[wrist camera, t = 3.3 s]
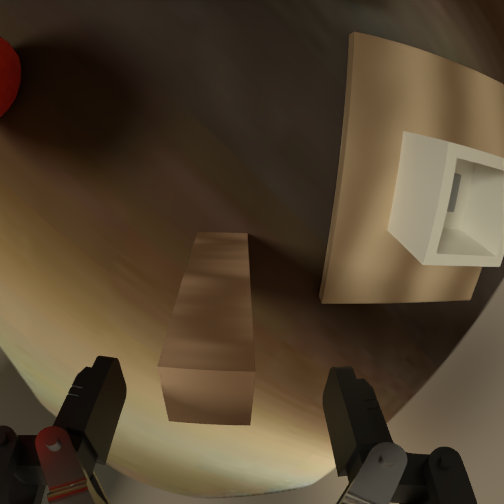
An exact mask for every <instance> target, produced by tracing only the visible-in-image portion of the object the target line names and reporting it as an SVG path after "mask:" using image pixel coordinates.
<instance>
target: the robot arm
mask: <svg viewBox="0 0 504 504" xmlns="http://www.w3.org/2000/svg"><path fill="white" fill-rule="evenodd" d="M125 399H126V383H125V380H124V377H123V373H122V370H121V366H120V363H119V360H118V359H117V358H113V357H106V356H98V357H97V358H96V360H95V362H94V364H93V366H92V368H91V367H85V368H84V369H83V370H82V371H81V372H80V373H79V374H78V375H77V376H76V378H75V380H74V382H73V384H72V387H71V388H70V390H69V392H68V395H67V397H66V399H65V401H64V403H63V405H62V407H61V409H60V411H59V414H58V416H57V418H56V420H55V422H54V424H53V426H50V427H47V428H44V429H43V430H41V431H40V432H39V433H38V435H17V434H16V433H15V432H14V431H13V429H11V428H10V427H8V426H0V504H41V502H42V498H43V494H44V490H45V487H46V485H48V487H49V491H50V493H48V494H47V499H48V502H49V504H110V502H109V500H108V499H107V497H106V495H105V493H104V491H103V489H102V487H101V485H100V483H99V481H98V479H97V477H96V475H95V473H94V471H93V470H94V466H95V463H99V464H103V465H105V464H106V460H107V457H108V453H109V450H110V446H111V443H112V440H113V436H114V433H115V430H116V427H117V424H118V420H119V417H120V414H121V411H122V408H123V405H124V402H125ZM323 409H324V414H325V418H326V422H327V427H328V431H329V436H330V441H331V445H332V450H333V454H334V459H335V464H336V469H337V473H338V477H339V476H348V480H349V483H348V485H347V486H346V488H345V490H344V491H343V493H342V494H341V496H340V498H339V499H338V501H337V502H336V504H389V503H390V502H392V503H399V504H477V501H476V498H475V495H474V492H473V489H472V486H471V483H470V481H469V478H468V475H467V472H466V470H465V467H464V464H463V461H462V459H461V457H460V455H459V453H458V452H457V451H455V450H454V449H452V448H450V447H439V448H437V449H435V450H434V451H433V452H432V453H431V454H430V455H427V454H412V453H407V452H405V451H404V450H403V448H401V447H400V446H398V445H397V444H395V443H394V442H393V440H392V438H391V436H390V433H389V430H388V427H387V424H386V422H385V419H384V416H383V414H382V411H381V409H380V406H379V403H378V400H377V398H376V395H375V393H374V390H373V388H372V386H371V385H370V384H369V383H368V382H367V381H366V380H365V379H356V376H355V373H354V371H353V368H352V367H351V366H346V367H332V368H331V369H330V372H329V375H328V379H327V382H326V386H325V389H324V393H323Z"/></svg>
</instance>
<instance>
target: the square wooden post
mask: <svg viewBox="0 0 504 504" xmlns="http://www.w3.org/2000/svg"><path fill="white" fill-rule="evenodd" d="M158 371H159V376H160V381H161V386H162V391H163V396H164V401H165V405H166V410H167V414H168V419H169V421H174V422H186V423H199V424H218V425H250V422H251V412H252V402H253V392H254V382H255V356H254V339H253V322H252V305H251V287H250V270H249V252H248V235H247V233H225V232H197V235H196V238H195V241H194V245H193V248H192V251H191V254H190V257H189V260H188V263H187V267H186V270H185V273H184V276H183V280H182V283H181V286H180V289H179V293H178V296H177V300H176V303H175V306H174V310H173V313H172V317H171V320H170V324H169V327H168V331H167V334H166V338H165V341H164V345H163V349H162V352H161V356H160V360H159V364H158Z"/></svg>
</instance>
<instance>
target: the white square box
mask: <svg viewBox="0 0 504 504" xmlns="http://www.w3.org/2000/svg"><path fill="white" fill-rule="evenodd" d="M387 231H388V232H389V233H391V234H392V235H393V236H394V237H395V238H396V239H397V240H398V241H399V242H400V243H401V244H402V245H403V246H404V247H405V248H406V249H407V250H408V251H409V252H410V253H411V254H412V255H413V256H414V257H415V258H416V259H417V260H418V261H419V262H420V263H421V264H422V265H442V266H483V267H500V265H501V262H502V259H503V256H504V158H502V157H499V156H496V155H493V154H490V153H486V152H483V151H480V150H477V149H473V148H470V147H466V146H463V145H459V144H456V143H452V142H448V141H444V140H440V139H436V138H432V137H428V136H424V135H419V134H415V133H410V132H405V131H403V138H402V146H401V154H400V161H399V168H398V174H397V180H396V187H395V192H394V198H393V204H392V209H391V214H390V219H389V224H388V229H387Z"/></svg>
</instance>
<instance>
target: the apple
mask: <svg viewBox="0 0 504 504" xmlns="http://www.w3.org/2000/svg"><path fill="white" fill-rule="evenodd" d="M20 82H21V65H20V59H19V56H18V55H17V53H16V52H15V51H14V49H13V48H12V47H11V46H10V44H9V43H8V42H7V41H6V40H4V39H3V38H1V37H0V117H1V116H2V115H3V114H4V113H5V112H6V111H7V110H8V109H9V108H10V106H11V105H12V103H13V101H14V100H15V98H16V96H17V93H18V89H19V86H20Z"/></svg>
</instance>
